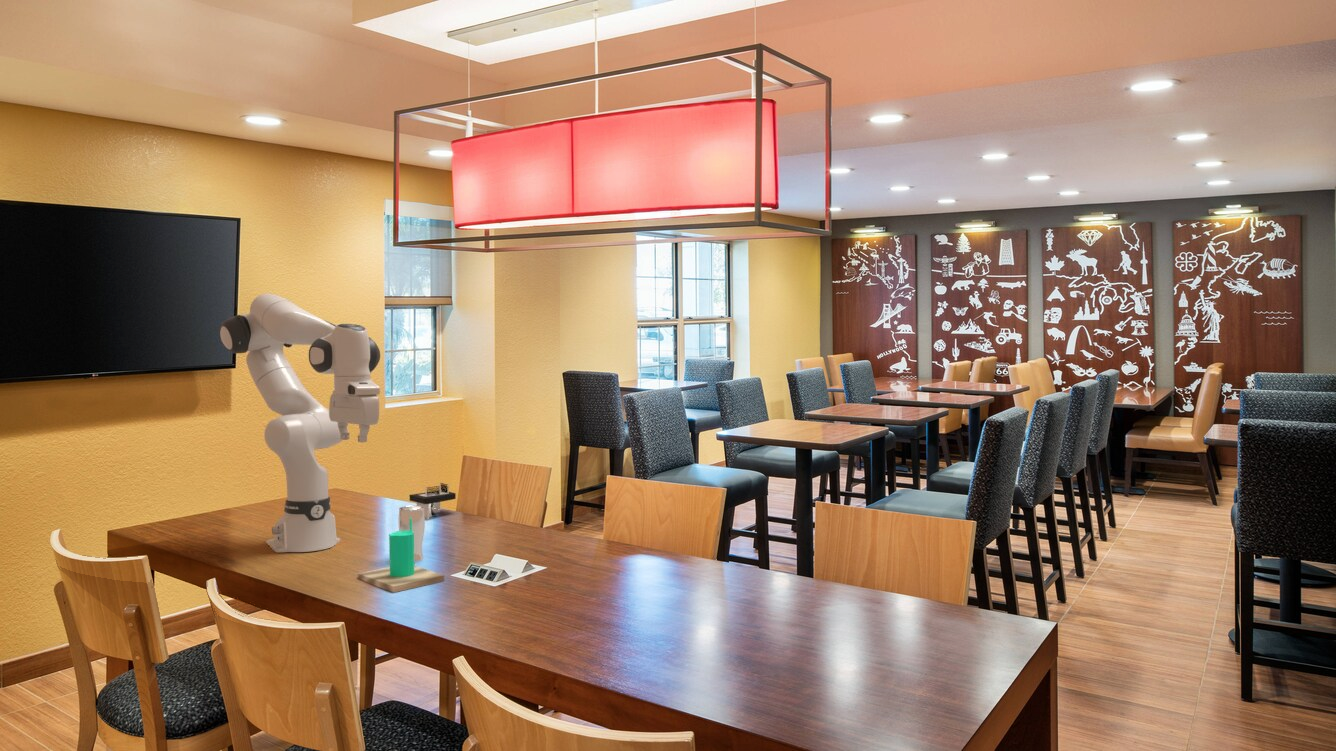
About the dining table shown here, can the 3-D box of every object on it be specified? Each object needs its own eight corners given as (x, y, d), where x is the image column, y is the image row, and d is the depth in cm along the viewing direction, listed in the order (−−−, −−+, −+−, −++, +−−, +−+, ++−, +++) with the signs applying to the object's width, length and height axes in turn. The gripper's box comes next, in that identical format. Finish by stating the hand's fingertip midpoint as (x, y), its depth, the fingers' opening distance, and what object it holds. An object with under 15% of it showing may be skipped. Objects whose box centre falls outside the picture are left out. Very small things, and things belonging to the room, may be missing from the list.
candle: (407, 569, 226) (406, 523, 225) (418, 573, 222) (418, 527, 221) (385, 574, 221) (384, 527, 221) (397, 578, 217) (396, 530, 217)
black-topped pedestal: (417, 537, 273) (416, 494, 273) (376, 525, 292) (376, 485, 291) (492, 523, 293) (491, 484, 293) (449, 513, 312) (449, 476, 311)
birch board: (357, 579, 222) (357, 573, 222) (407, 568, 233) (407, 563, 233) (393, 592, 210) (393, 586, 210) (444, 581, 220) (444, 575, 220)
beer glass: (417, 565, 236) (417, 510, 236) (394, 564, 238) (393, 509, 237) (429, 559, 243) (429, 505, 243) (406, 558, 244) (406, 505, 244)
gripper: (322, 386, 228) (323, 439, 229) (359, 388, 214) (360, 444, 215) (345, 385, 233) (346, 437, 233) (383, 387, 219) (384, 442, 219)
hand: (353, 440), depth 224 cm, fingers open, 8 cm apart
